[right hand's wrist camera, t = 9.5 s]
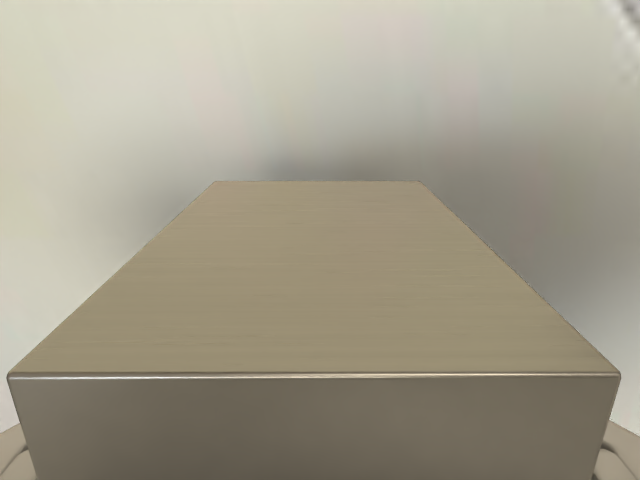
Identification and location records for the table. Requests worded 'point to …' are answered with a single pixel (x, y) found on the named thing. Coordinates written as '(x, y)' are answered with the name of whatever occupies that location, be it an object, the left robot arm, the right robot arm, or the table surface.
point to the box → (314, 351)
